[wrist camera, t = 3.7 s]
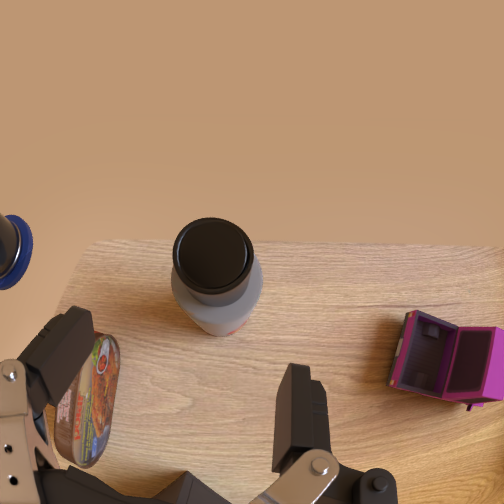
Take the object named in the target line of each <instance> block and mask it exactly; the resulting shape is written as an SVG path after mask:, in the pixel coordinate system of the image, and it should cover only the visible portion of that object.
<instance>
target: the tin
mask: <svg viewBox="0 0 504 504" xmlns="http://www.w3.org/2000/svg"><path fill="white" fill-rule="evenodd" d="M94 333H95V346H94V349H93V351H92V353H91V354H90V356H89V357H88V359H87V360H86V362H85V363H84V365H83V366H82V368H81V369H80V371H79V372H78V374H77V376H76V377H75V379H74V380H73V382H72V383H71V385H70V387H69V388H68V390H67V391H66V393H65V395H64V396H63V398H62V400H61V401H60V403H59V404H58V406H57V408H56V411H55V424H54V441H55V446H56V449H57V451H58V452H59V454H60V455H61V456H62V457H63V458H65V459H67V460H68V461H70V462H72V463H74V464H76V465H78V466H79V467H80V468H83V469H88V468H90V467H92V466H93V465H94V464H95V463H96V462H97V461H98V460H99V458H100V457H101V455H102V453H103V452H104V450H105V447H106V445H107V442H108V438H109V434H110V428H111V421H112V413H113V406H114V399H115V393H116V387H117V381H118V375H119V369H120V350H119V346H118V343H117V341H116V339H115V338H114V337H113V336H112V335H109V334H103V333H100V332H97V331H94Z"/></svg>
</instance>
